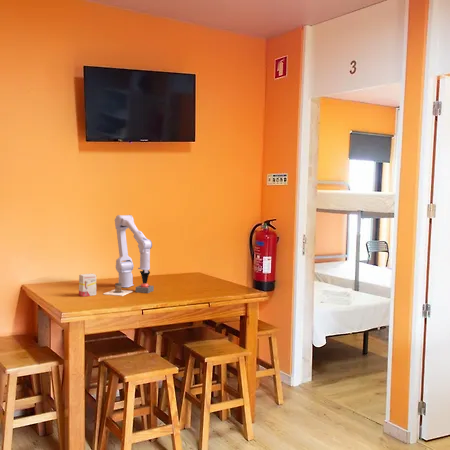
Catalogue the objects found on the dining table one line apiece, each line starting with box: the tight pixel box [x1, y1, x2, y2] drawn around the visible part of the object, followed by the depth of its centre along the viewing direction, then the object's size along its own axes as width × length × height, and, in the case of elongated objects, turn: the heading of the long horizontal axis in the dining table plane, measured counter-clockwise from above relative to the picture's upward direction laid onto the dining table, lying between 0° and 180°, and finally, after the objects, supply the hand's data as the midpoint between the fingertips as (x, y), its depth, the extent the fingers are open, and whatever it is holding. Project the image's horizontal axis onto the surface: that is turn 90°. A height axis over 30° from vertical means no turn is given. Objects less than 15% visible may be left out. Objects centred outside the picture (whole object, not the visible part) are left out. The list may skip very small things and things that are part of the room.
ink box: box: [78, 273, 97, 298], centre depth 306 cm, size 9×5×12 cm, turn 131°
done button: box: [140, 282, 149, 287], centre depth 320 cm, size 4×4×2 cm
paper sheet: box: [102, 288, 134, 297], centre depth 314 cm, size 14×12×1 cm
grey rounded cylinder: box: [114, 282, 122, 293], centre depth 314 cm, size 4×4×5 cm
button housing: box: [135, 284, 154, 294], centre depth 320 cm, size 8×8×3 cm
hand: (144, 283), depth 320 cm, fingers closed
